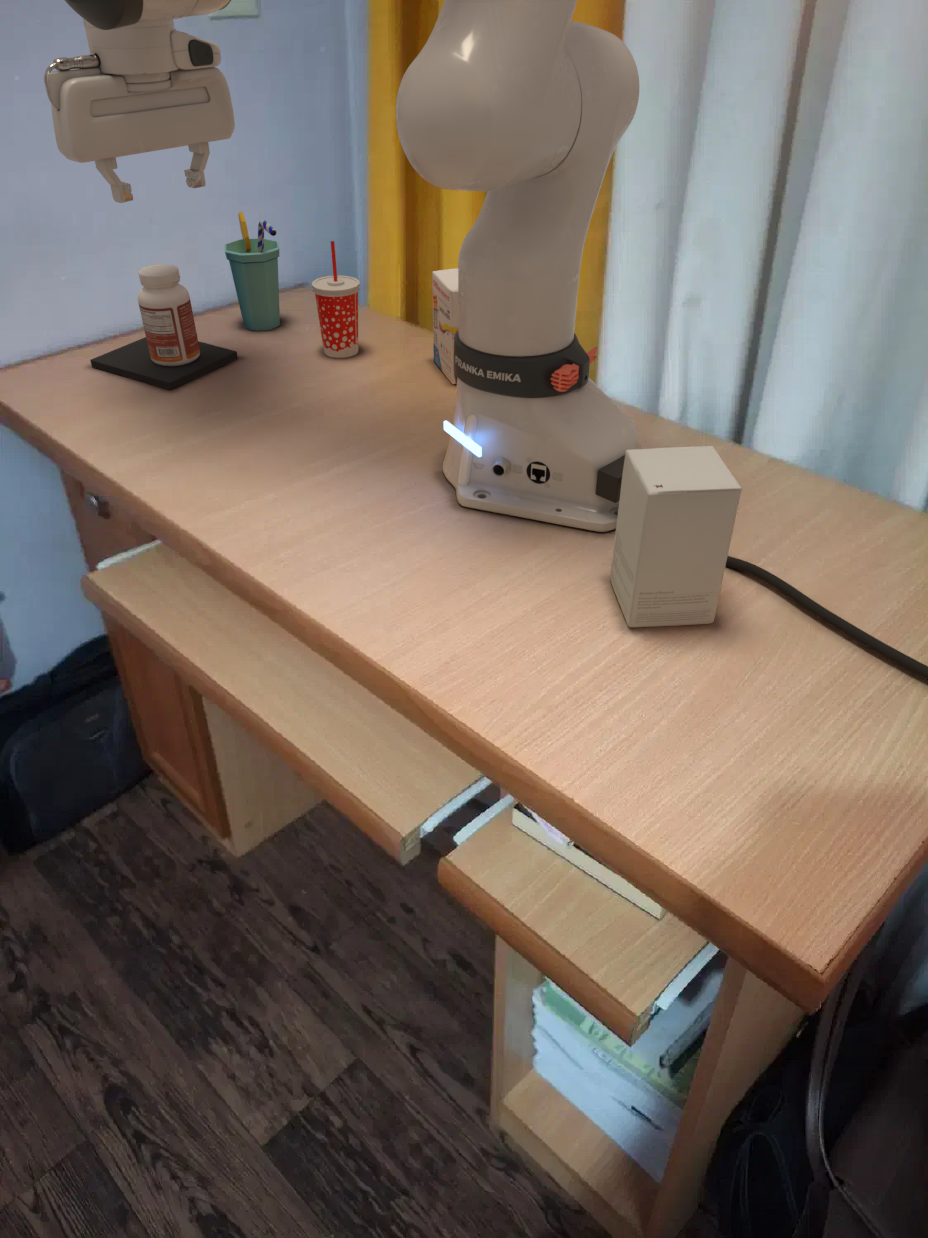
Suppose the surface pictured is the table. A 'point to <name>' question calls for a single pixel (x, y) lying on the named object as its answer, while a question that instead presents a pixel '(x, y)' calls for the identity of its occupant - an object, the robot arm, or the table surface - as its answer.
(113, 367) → the mat
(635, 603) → the white packaging box
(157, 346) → the pill bottle
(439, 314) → the ink box
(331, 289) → the beverage cup
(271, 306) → the cup
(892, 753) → the table surface
